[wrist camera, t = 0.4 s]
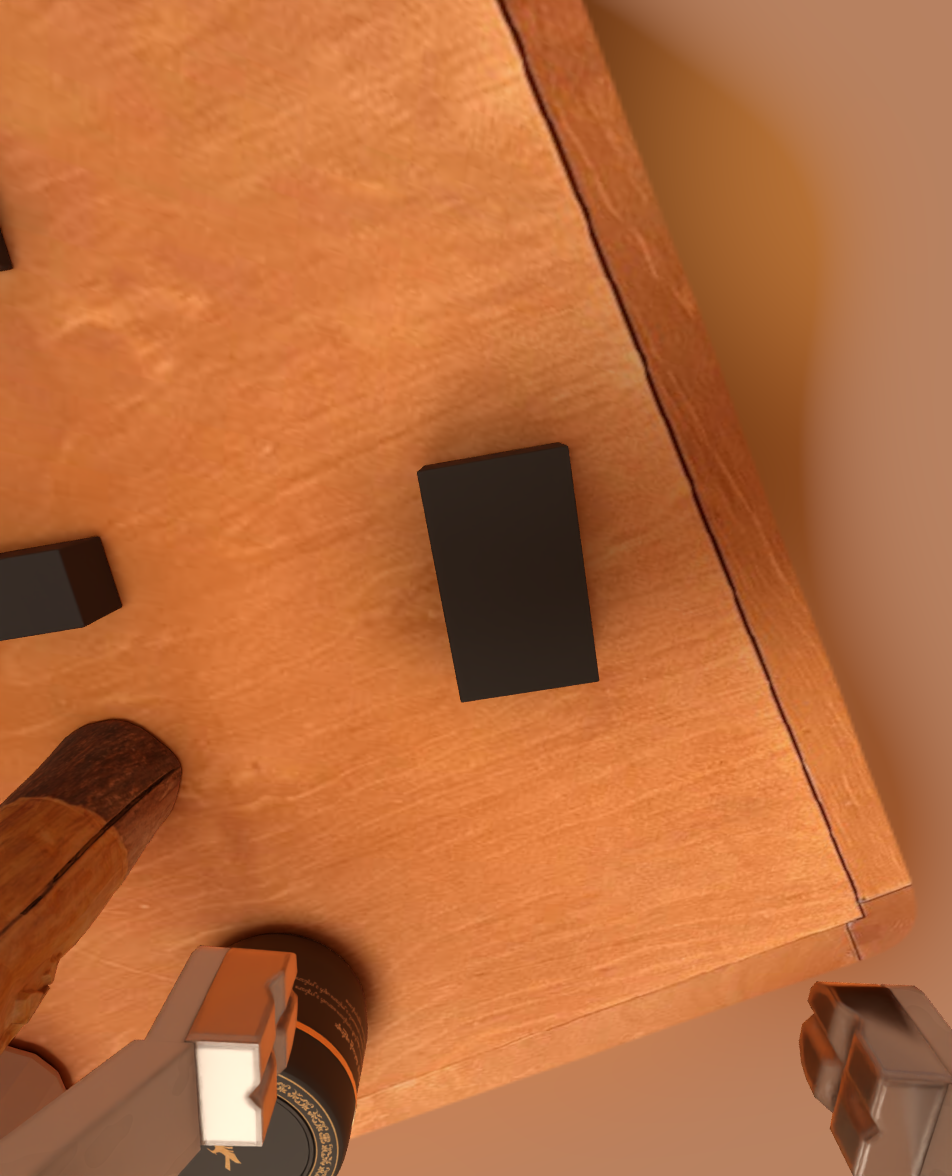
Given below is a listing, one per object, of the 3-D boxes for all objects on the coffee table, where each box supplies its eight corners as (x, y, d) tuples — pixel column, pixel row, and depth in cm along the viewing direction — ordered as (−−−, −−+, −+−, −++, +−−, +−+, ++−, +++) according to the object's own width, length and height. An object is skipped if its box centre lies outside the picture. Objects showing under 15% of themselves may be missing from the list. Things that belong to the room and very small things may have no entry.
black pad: (423, 465, 28) (416, 471, 26) (559, 442, 28) (568, 445, 25) (463, 676, 31) (461, 703, 28) (588, 656, 31) (599, 681, 28)
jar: (224, 1078, 37) (160, 1240, 30) (169, 936, 35) (85, 1075, 28) (393, 1052, 37) (370, 1212, 29) (350, 906, 34) (313, 1041, 27)
